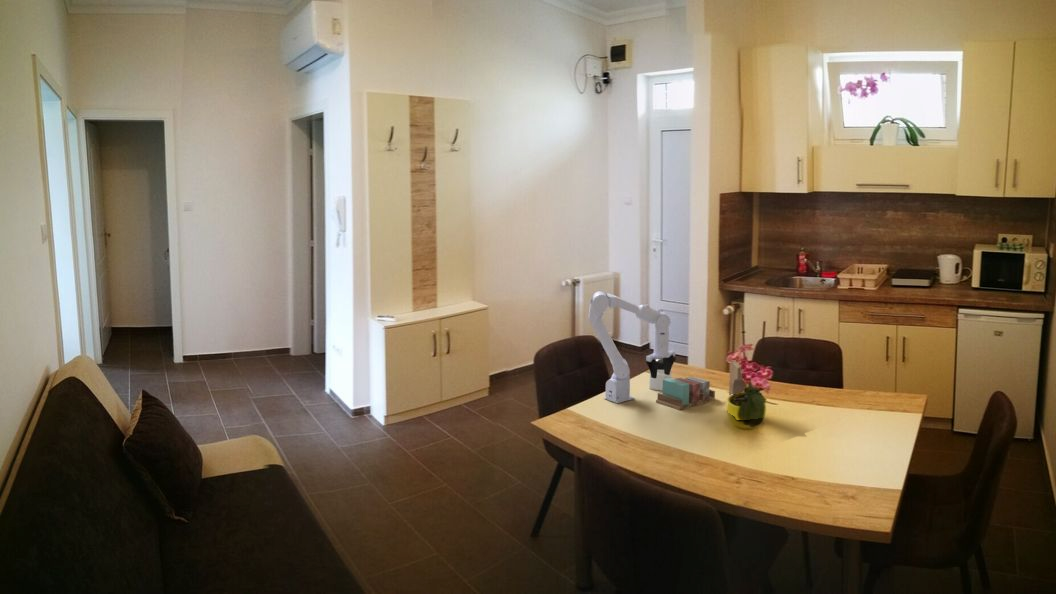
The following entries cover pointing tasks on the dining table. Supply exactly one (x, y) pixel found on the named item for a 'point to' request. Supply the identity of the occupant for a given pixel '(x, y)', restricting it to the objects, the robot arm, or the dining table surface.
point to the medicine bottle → (658, 377)
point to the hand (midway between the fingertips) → (660, 376)
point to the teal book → (676, 390)
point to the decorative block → (736, 379)
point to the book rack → (697, 394)
